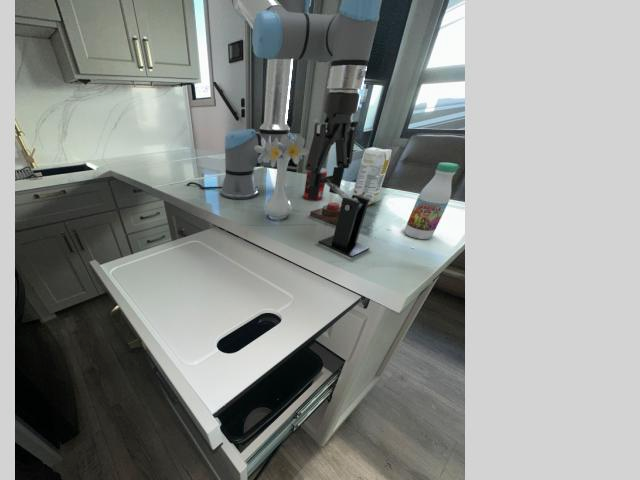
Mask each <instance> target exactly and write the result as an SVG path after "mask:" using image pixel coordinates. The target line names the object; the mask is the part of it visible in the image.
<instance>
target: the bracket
mask: <svg viewBox="0 0 640 480" xmlns="http://www.w3.org/2000/svg"><path fill="white" fill-rule="evenodd" d="M352 198H357V199H358V200H359V201H360V202H361V203H363V206H362V207H361V208H360V210H359V211H358V209H359V205H360V202H359V201H356V200H353V199H352ZM369 200H370V199H369V198H365V197H361V196H358V195H353V194H352V195H351V199H349V198H346V197H345V198H343V199H341V205H340V207H341V208H340V212H339V216H338V220H337V225H336V226H335V229H334V233H333V235H331V236H328V237H326V238H324V239H321V240H319V241H318V244H320V245H322V246H325V247H327V248H329V249H331V250H333V251H336V252H338V253H340V254H342V255H344V256H347V257H349V258H350V259H353V258H355V257H357V256H359V255H361V254H364V253H366V252H367V251H370V247H368V246H366V245H365V244H364V245H363V244H361V243H358V240H359V235H360V232H361V229H362V226H363V222H364V220H365V216H366V212H367V210H368V206H369V205H368V203H369Z"/></svg>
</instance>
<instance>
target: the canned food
mask: <svg viewBox="0 0 640 480" xmlns="http://www.w3.org/2000/svg"><path fill="white" fill-rule="evenodd" d="M306 171H307V172H306V177H305V185H304V191H303V197H304V199H305V200H308V201H315V200H314V199H310V198H308V193H309V182H310V175H311V172H310V171H308V170H306ZM320 173H322V177H327V176H328V169H327V168H325V167H322V168H321V171H320ZM322 177H321V178H322ZM325 186H326V183H322V184H320V188H319V193H318V198H317V200H316V201H320V200H322V198H323V195H324V190H325Z"/></svg>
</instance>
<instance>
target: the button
mask: <svg viewBox="0 0 640 480" xmlns="http://www.w3.org/2000/svg"><path fill="white" fill-rule="evenodd" d="M327 205H328V207H327V209H329V210H338V208H339V207H340V204H339V203H338V202H333V201H332V202H328V203H327Z"/></svg>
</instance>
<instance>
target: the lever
mask: <svg viewBox="0 0 640 480" xmlns="http://www.w3.org/2000/svg"><path fill="white" fill-rule="evenodd" d="M333 179H334V177H333V176H332V175H327V176H326V177H322V178H321V182H320V184H322V183H325V185H327V186H328V187H329V189H330V188H331V189H332V190H333V191H334V192H336V193H337V194H336V195H338V196H339V197H340V198H341V200H343V198H345V197H346V198H349V199H353V200H356V201H359V200H358V199H357V198H352V197H350V196H349V195H348V194H346V192H345V191H344V190H342V189H341V187H340V188H339V187H337V186H336V185H335V184H334V183H333V182H332V181H333ZM359 202H360V201H359ZM362 206H363V203H361V202H360V205H359V209H358V211H359V210H360V208H361V207H362Z"/></svg>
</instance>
